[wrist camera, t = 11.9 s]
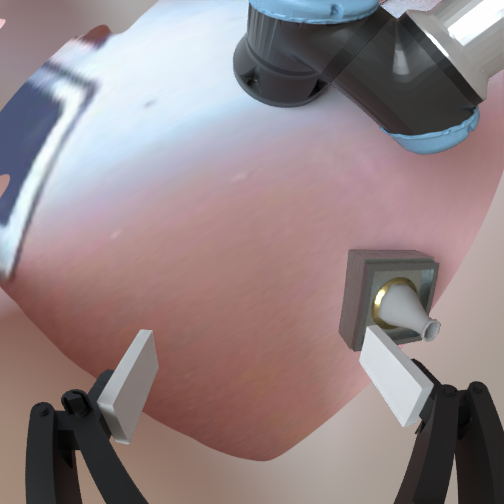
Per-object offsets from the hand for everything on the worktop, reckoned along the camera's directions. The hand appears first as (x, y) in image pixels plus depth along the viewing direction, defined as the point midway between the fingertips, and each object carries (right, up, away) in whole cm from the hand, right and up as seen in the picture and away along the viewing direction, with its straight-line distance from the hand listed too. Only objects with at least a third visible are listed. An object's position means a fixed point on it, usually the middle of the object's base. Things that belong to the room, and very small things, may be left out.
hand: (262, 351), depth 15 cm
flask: (+22, -2, +23) cm, 32 cm away
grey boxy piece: (+22, -1, +29) cm, 36 cm away
